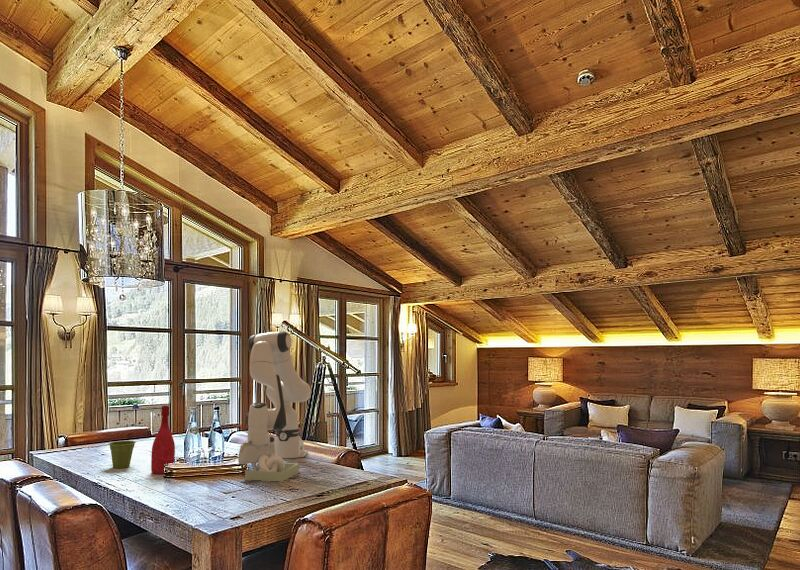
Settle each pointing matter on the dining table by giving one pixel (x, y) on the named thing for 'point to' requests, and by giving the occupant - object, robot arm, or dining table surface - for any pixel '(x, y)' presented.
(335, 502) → the dining table surface
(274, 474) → the frame
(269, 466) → the cream lumpy rounded piece
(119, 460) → the plant pot
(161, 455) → the wine bottle
